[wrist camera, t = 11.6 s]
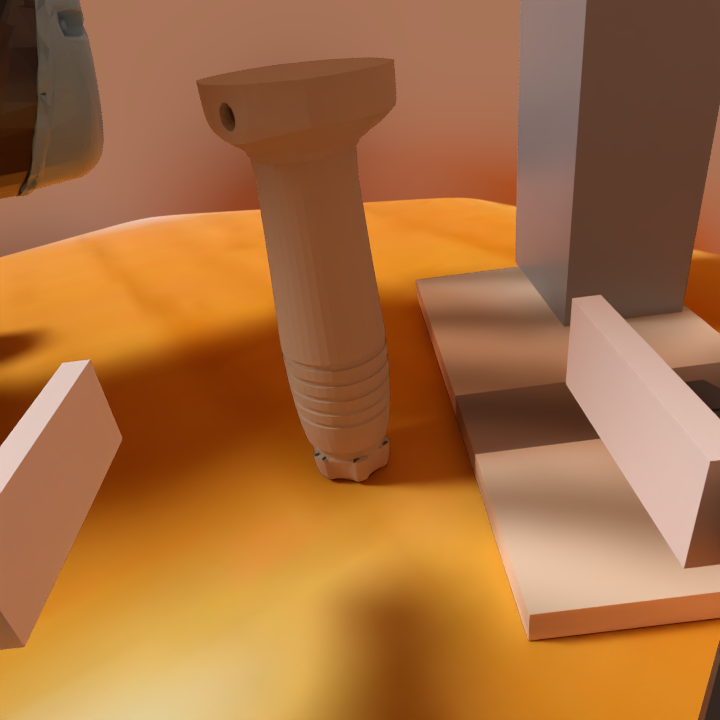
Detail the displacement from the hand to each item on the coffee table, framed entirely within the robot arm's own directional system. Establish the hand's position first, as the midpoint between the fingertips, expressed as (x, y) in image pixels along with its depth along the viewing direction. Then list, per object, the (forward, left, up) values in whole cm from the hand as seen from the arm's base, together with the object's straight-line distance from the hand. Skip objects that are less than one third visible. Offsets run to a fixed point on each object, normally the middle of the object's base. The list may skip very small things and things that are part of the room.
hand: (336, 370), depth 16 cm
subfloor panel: (-1, +14, -8) cm, 16 cm away
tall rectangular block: (-6, +21, -7) cm, 23 cm away
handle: (-5, +3, -8) cm, 10 cm away
